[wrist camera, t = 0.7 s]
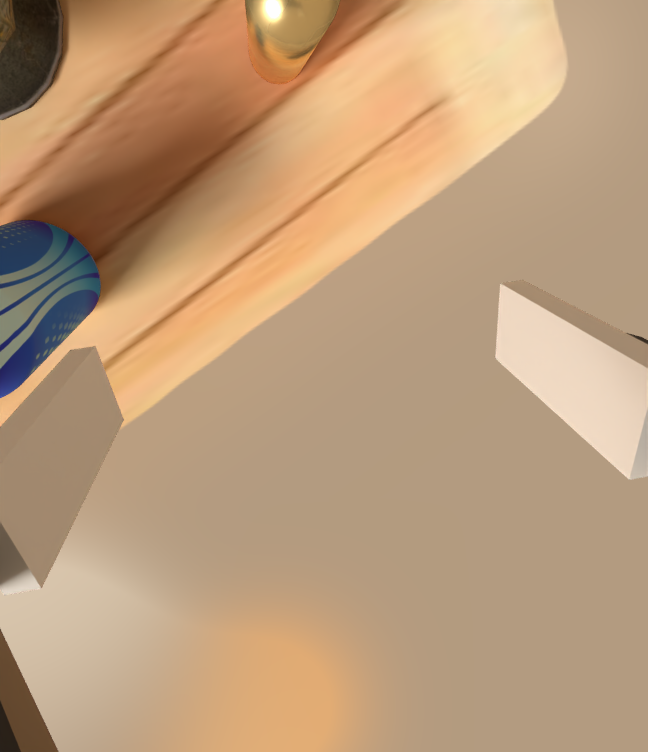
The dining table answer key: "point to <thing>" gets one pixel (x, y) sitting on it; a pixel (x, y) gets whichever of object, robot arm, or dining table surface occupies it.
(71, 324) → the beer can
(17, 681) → the robot arm
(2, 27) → the lantern
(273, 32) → the brass pin
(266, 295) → the dining table surface
